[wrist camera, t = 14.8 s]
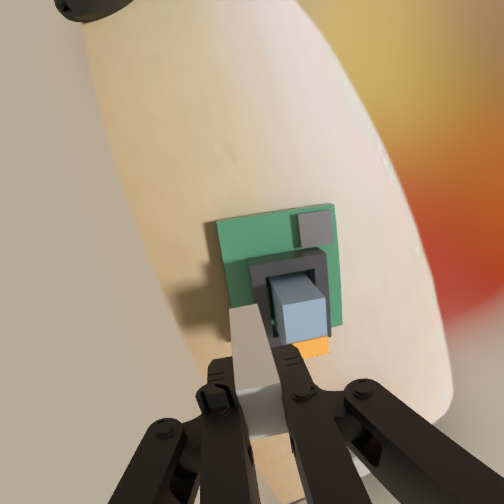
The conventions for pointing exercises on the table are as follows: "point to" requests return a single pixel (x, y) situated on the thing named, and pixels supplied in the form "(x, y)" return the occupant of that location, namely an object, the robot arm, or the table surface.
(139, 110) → the table surface
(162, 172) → the table surface
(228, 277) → the circuit board
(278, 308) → the plug
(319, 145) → the table surface
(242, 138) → the table surface
